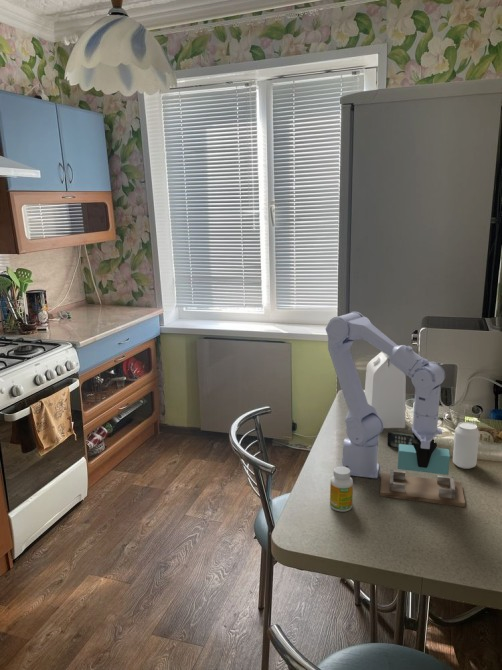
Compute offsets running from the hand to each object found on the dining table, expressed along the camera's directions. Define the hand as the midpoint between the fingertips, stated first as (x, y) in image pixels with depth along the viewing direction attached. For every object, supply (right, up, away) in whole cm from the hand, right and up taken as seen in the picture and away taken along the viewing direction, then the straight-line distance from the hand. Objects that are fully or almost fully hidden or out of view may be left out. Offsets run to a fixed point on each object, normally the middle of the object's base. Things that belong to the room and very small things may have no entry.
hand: (422, 462), depth 130 cm
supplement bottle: (-21, -10, -3) cm, 24 cm away
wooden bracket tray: (+1, -8, +3) cm, 8 cm away
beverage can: (+17, -5, +15) cm, 23 cm away
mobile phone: (+5, -3, +25) cm, 26 cm away
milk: (+2, +3, +46) cm, 46 cm away
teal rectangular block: (0, -2, 0) cm, 2 cm away
